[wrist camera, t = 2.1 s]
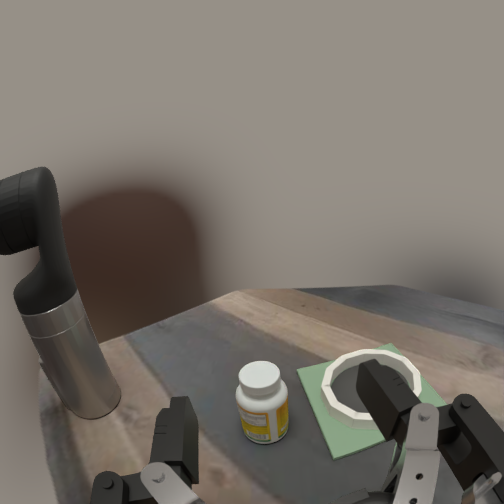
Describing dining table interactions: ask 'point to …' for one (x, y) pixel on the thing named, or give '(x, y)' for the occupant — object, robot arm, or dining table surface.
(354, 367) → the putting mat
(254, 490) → the dining table surface
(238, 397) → the supplement bottle
